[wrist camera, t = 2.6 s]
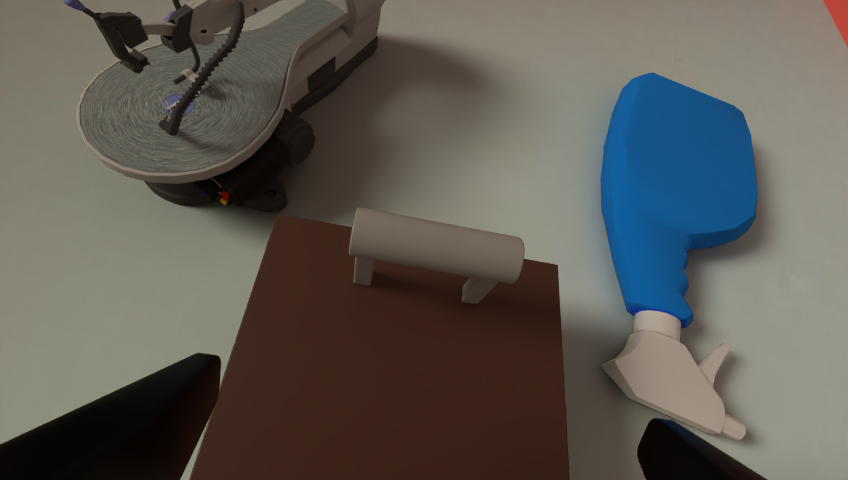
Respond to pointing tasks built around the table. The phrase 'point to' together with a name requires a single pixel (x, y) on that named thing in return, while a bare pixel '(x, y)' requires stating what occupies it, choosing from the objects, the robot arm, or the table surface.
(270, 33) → the scroll saw
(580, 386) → the table surface
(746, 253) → the table surface
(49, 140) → the table surface
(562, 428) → the lid
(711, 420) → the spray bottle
